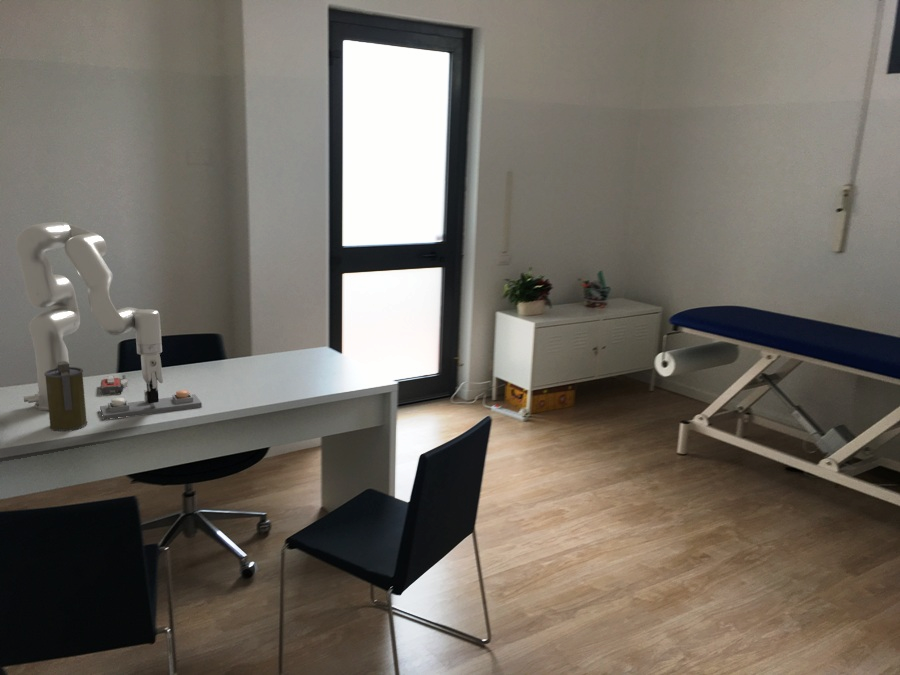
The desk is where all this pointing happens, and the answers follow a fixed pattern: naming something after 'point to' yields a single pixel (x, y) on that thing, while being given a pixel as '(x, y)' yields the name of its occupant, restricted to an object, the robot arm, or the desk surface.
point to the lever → (145, 395)
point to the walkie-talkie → (113, 385)
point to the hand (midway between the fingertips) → (153, 401)
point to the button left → (118, 402)
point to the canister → (66, 397)
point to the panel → (150, 407)
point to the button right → (182, 394)
